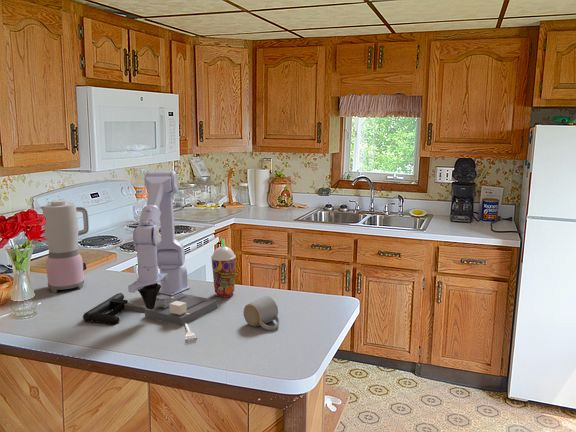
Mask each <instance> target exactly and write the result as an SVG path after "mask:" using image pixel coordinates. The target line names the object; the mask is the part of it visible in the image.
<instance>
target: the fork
mask: <svg viewBox="0 0 576 432" xmlns="http://www.w3.org/2000/svg"><path fill="white" fill-rule="evenodd" d="M185 328H186V329H185ZM184 329H185V330H186V331H185V332H186V334H185V335H184V337H185V341H187V340H194V339H198V337H197V336H196V333H194V332H193V331H192V330H191V329H190V327H189V325H188V323H185V325H184Z"/></svg>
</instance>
